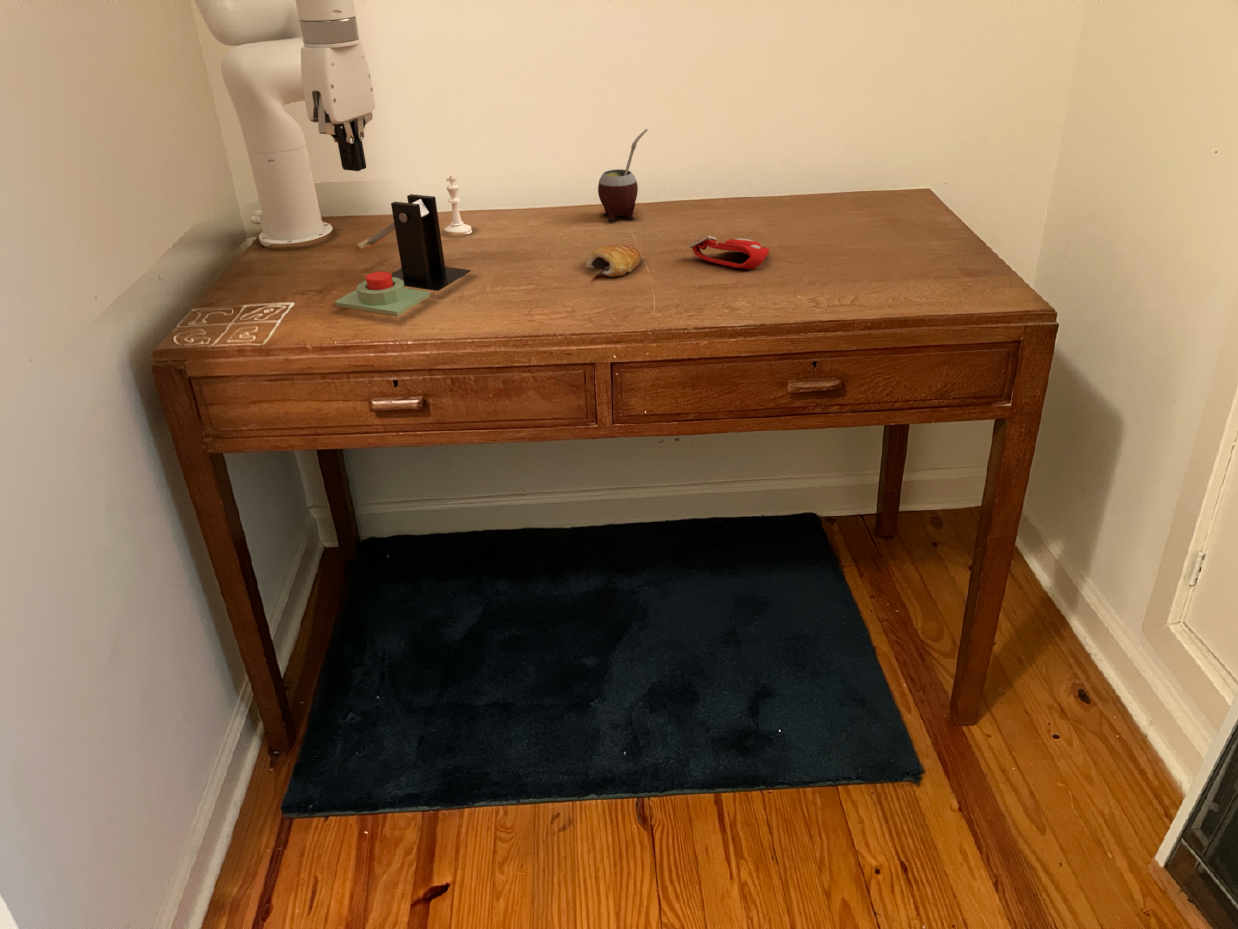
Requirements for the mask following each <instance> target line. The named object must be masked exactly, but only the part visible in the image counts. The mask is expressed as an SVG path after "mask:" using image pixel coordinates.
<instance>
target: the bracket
mask: <svg viewBox="0 0 1238 929" xmlns="http://www.w3.org/2000/svg"><path fill="white" fill-rule="evenodd" d="M406 198H407V202H403V201H393V202H390V208H391V212H392V213H391V214H392V219H393V222H394V225H395V231H394V232H395V236H396V242H397V248H398V255H399V260H400V266H401V268H399V269H397V270H396V271H393V272H392V273H391V275H392V277H395V278H399V279H401V280H402V281H404V286H405V287H406V288H413V289H414V288H416V289H422V290H427V291H428V290H429V291H435V292H439V291H441V290H442V289H444V288H445V287H447V286H449V285H450V284H452V283H454V282H455V281H457V280H458V279H460V278H462V277H464V276H465V275H467V274H468V273H471V272H472V270H471V269H466V268H458V267H450V266H446V263H445V257H444V256H445V255H444V249H443V242H442V234H441V228H440V221H439V214H438V206H437V200H436V196H433V195H424V194H423V195H422V194H413V193H411V194H409V195H406ZM419 199H421V200H422V202H423V203H424V205H425V207H426V208H427V210H428V211H429V214H428V215H426V216H425V217H423V218H421V211H420V205H419V204H413V202H415V201H417V200H419Z"/></svg>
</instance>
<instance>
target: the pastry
mask: <svg viewBox="0 0 1238 929" xmlns="http://www.w3.org/2000/svg"><path fill="white" fill-rule="evenodd" d="M640 263H641V251H640V249H638V248H635V247H633V246H631V245H628V244H622V245H621V244H613V245H612V244H607V245H602V246H601V247H600V248H597V249H594V250H593V251H592V253H590V256H589V257H588V258H587V261H586V262H585V265H584V266H585V267H586V268H589V269H595V270H596V269H597V270H601V271H600V272H598V273H597V274H596V276H606V277H609V278H610V277H617V278H619V277H621V276H624V275H626V273H627V272H629V273H631V272H632V271H633V270H635V269H636V268H637V267H638V266H639V264H640Z"/></svg>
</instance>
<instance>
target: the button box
mask: <svg viewBox="0 0 1238 929" xmlns="http://www.w3.org/2000/svg"><path fill="white" fill-rule="evenodd" d="M392 281H393V287H391V288H388V289H384V290H368V287H367V282H366V280H364V281H362V282H360V283H358V284H357V286H356V289H355V290H353V291H350V292H349V293H348V294H346V295H344V296H342V297H340V298H339V299H336V300H335V301H334V302H333V303H334V306H335V307H338V308H343V309H352V310H357V311H363V312H364V311H365V312H370V313H376V314H381V315H387V316H394V317H399V316H400V315H402V314H404V313H406V312H407V311H408V310H410V309H413V307H415V306H417V305H418V304H420V303H421V302H423V301H425V300H426V299H428V298H430V297H431V291H428V290H427V291H426V290H420V289H414V288H408V287H406V286H404V281H402V280H401V279H399V278H395V277H392Z"/></svg>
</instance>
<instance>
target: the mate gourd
mask: <svg viewBox="0 0 1238 929" xmlns="http://www.w3.org/2000/svg"><path fill="white" fill-rule="evenodd" d="M647 132H648V128H645V129H644V130H643V131H642V132H640V134H639V135H637V137H636V138H635V139H634V141H633V142H632V143H631V147H630V152H629V156H628V160H627V164H626V167H625V169H619V168H618V169H610V170H606V171H604V172H602V175H601V176H600V178H599V180H598V186H597V193H598V198H599V201H600V203H601V205H602V206H603V209H604V213H603V217H606V218H609V219H607V221H608V224H613V223H614V222H617V221H619V220H626V221H630V222H631V221H634V220H635V216H634V212H635V207H636V201H637V198H638V192H639V186H638V182H637V181H638V180H637V178H636V176H635V175H634V173H633V172H632V171H631V170H630V167H631V162H632V159H633V155H634V152H635V150H636V148H637V144H638V142H639V141H640V140H641V138H642V137H643V136H644V135H645V134H646V133H647Z"/></svg>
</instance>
